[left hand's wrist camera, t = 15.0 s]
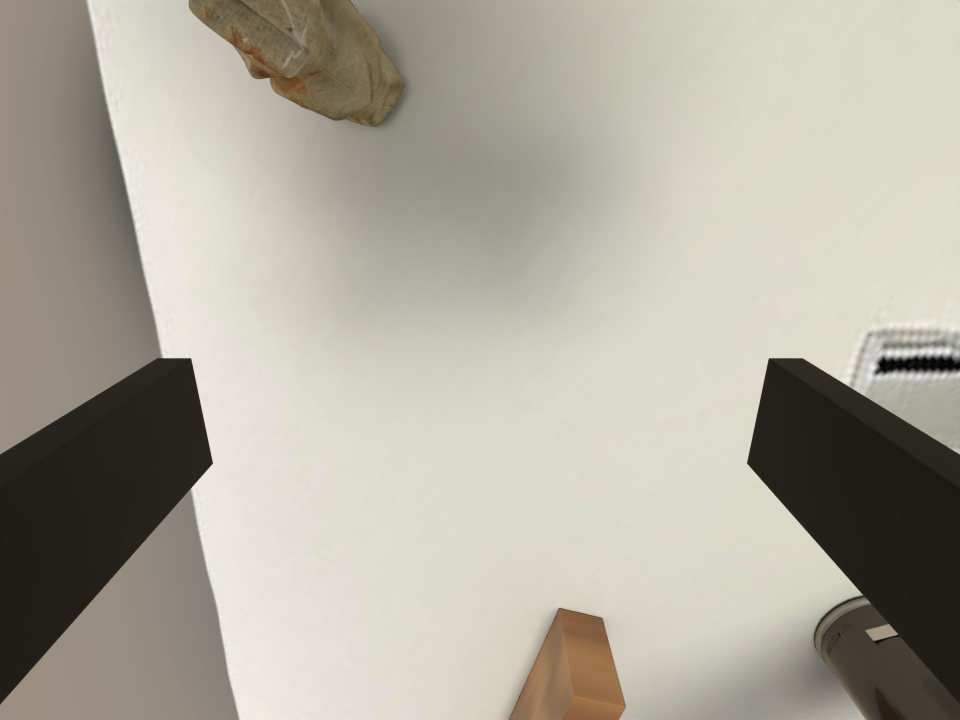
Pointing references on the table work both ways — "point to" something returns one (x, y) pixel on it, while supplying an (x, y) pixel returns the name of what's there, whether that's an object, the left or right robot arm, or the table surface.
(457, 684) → the table surface
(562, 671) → the bar
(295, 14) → the sculpture
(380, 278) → the table surface
